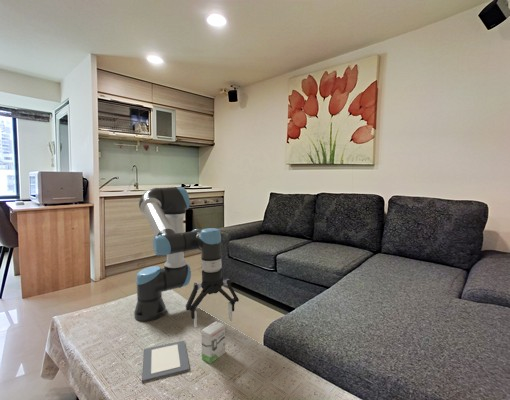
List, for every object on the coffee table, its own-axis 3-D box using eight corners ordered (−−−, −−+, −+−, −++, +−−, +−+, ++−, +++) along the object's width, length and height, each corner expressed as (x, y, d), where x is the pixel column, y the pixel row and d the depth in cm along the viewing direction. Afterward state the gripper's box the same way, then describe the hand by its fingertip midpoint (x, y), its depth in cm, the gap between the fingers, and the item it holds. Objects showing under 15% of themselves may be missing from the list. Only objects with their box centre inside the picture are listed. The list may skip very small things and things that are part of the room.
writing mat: (143, 350, 110) (143, 348, 109) (184, 342, 115) (184, 339, 115) (141, 382, 93) (141, 379, 93) (189, 370, 98) (189, 368, 98)
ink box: (210, 364, 101) (209, 334, 100) (201, 359, 104) (200, 330, 103) (225, 352, 108) (225, 324, 107) (217, 347, 111) (216, 320, 110)
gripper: (178, 277, 95) (181, 334, 97) (245, 268, 104) (247, 321, 105) (177, 270, 102) (179, 324, 104) (240, 262, 111) (241, 312, 113)
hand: (213, 322), depth 105 cm, fingers open, 13 cm apart
